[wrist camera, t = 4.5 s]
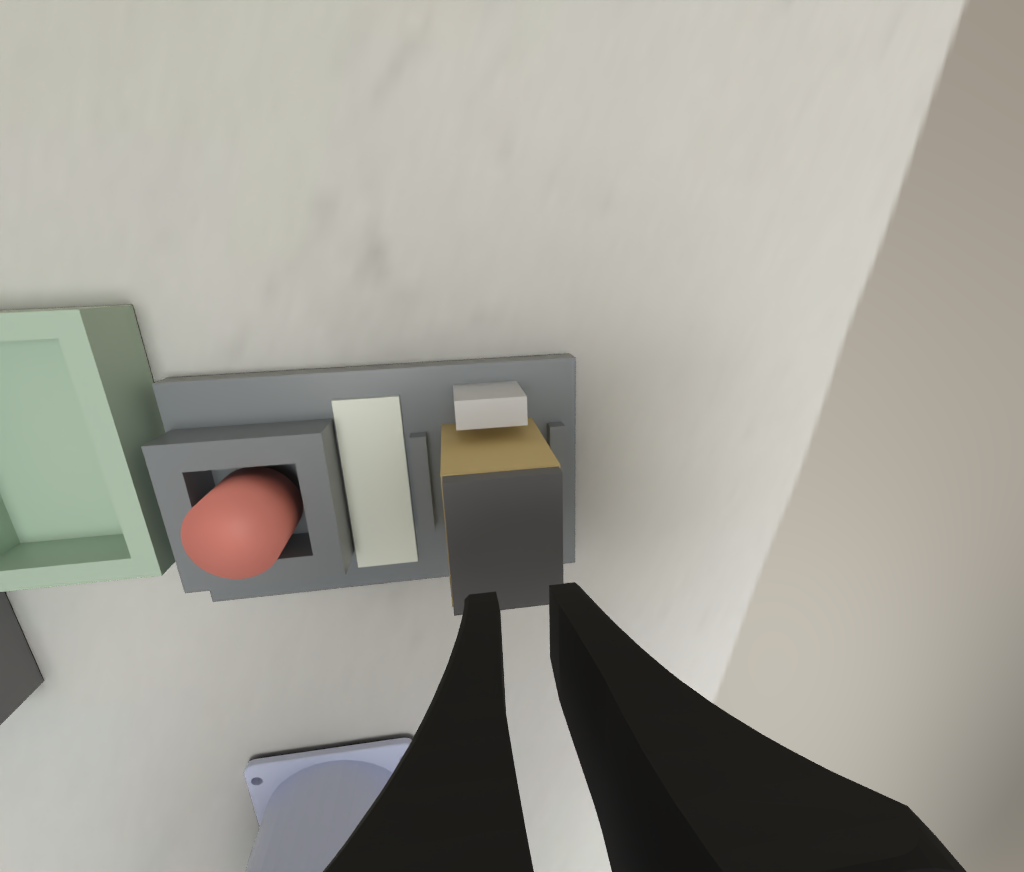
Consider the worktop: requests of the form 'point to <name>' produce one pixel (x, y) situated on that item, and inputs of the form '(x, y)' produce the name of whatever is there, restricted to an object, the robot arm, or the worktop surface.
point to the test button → (242, 523)
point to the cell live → (502, 514)
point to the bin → (14, 663)
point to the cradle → (350, 459)
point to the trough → (77, 450)
